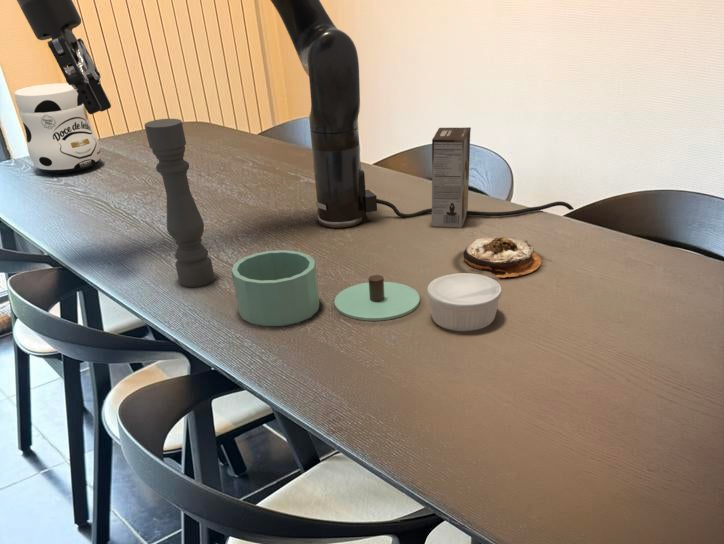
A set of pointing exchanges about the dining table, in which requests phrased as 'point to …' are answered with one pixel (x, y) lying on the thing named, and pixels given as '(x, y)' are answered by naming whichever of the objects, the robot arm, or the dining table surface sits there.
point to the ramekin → (464, 301)
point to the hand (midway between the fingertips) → (101, 111)
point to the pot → (276, 287)
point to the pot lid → (377, 300)
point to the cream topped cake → (502, 256)
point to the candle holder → (180, 202)
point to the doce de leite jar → (57, 128)
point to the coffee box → (450, 176)
